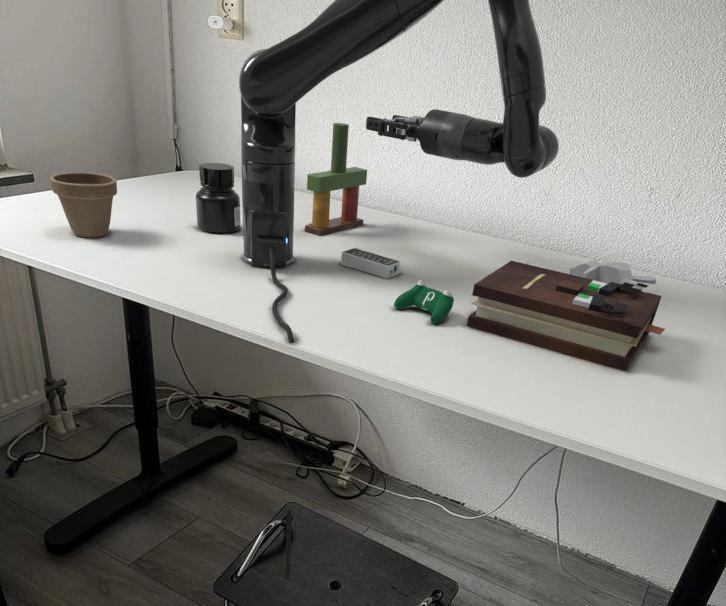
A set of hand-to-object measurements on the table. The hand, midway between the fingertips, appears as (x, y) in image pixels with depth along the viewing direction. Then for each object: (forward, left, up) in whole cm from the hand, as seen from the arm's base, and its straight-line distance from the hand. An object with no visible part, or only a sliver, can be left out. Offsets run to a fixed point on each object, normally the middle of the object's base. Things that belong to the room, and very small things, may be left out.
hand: (380, 121), depth 129 cm
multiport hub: (-21, +3, -23) cm, 31 cm away
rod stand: (+7, +7, -22) cm, 24 cm away
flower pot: (-6, +56, -23) cm, 61 cm away
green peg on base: (+7, +7, -14) cm, 17 cm away
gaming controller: (-43, -3, -23) cm, 49 cm away
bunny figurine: (-28, -42, -23) cm, 55 cm away
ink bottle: (+2, +32, -23) cm, 39 cm away
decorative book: (-49, -24, -22) cm, 59 cm away
